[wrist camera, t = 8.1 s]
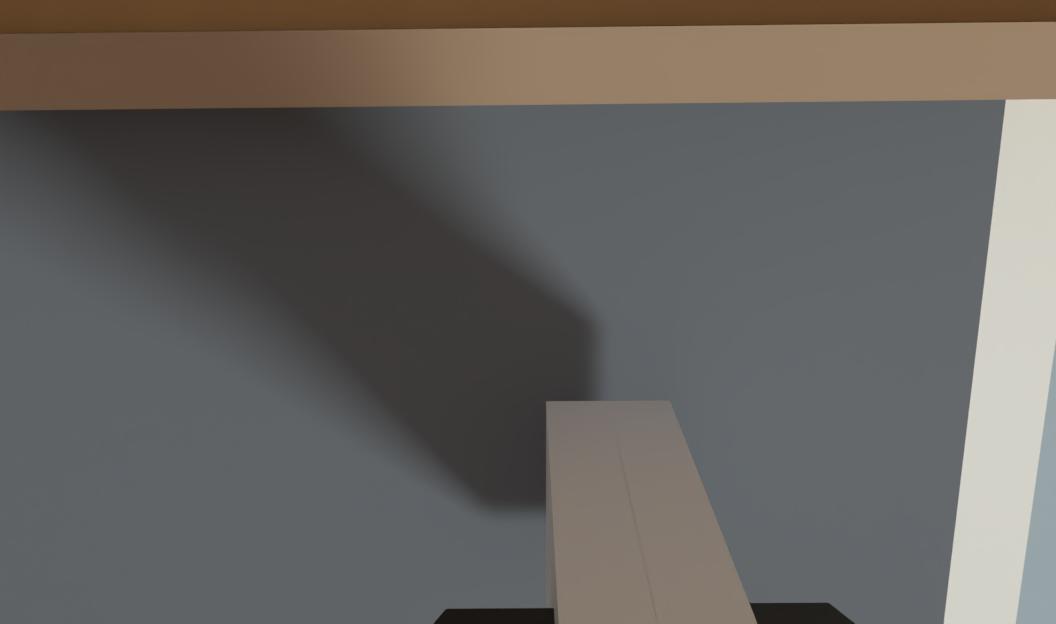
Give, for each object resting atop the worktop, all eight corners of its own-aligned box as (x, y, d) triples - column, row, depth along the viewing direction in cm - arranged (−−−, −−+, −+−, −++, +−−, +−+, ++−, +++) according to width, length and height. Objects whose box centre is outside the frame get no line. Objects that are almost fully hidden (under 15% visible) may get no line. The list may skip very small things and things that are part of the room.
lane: (-240, 757, 16) (-491, 993, 12) (-432, 38, 13) (-851, 43, 9) (1799, 747, 15) (2217, 984, 12) (2098, 9, 12) (2797, 1, 9)
